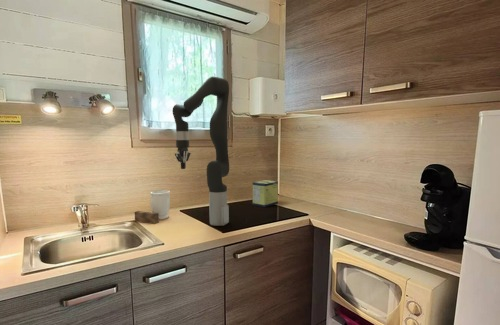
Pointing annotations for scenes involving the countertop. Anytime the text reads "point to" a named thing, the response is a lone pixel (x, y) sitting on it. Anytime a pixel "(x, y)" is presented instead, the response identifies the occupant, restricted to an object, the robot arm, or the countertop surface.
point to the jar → (160, 203)
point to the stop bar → (146, 217)
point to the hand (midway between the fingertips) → (183, 168)
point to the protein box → (265, 193)
